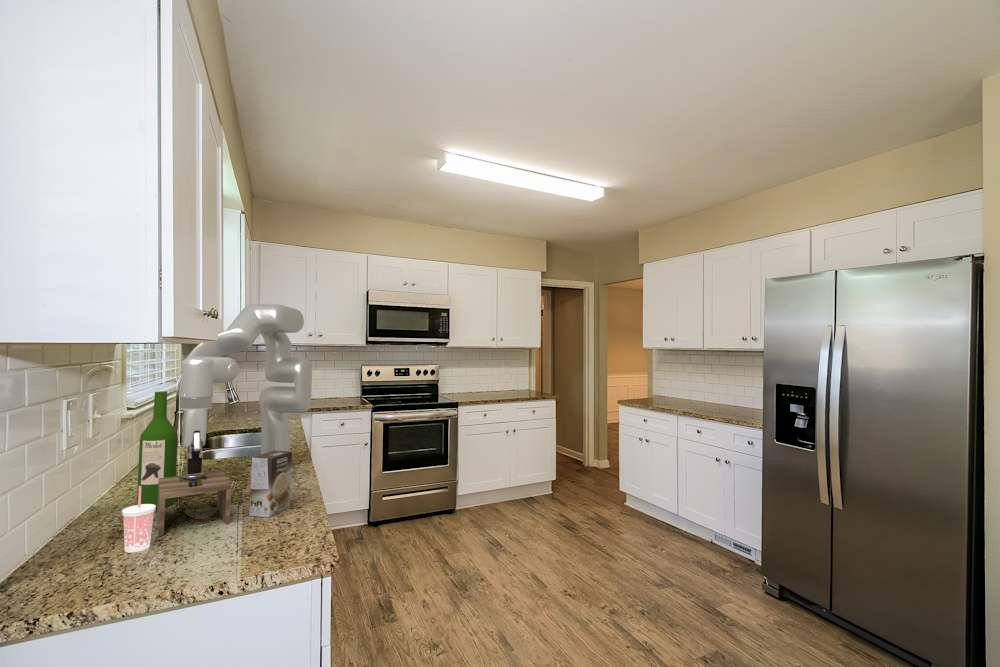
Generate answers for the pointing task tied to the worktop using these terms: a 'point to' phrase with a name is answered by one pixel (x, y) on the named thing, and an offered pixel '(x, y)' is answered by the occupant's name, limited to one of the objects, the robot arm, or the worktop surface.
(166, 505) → the wine bottle
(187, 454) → the keyhole pin
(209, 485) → the keyhole plate
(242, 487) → the worktop surface
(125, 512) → the beverage cup
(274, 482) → the coffee box
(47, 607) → the worktop surface
